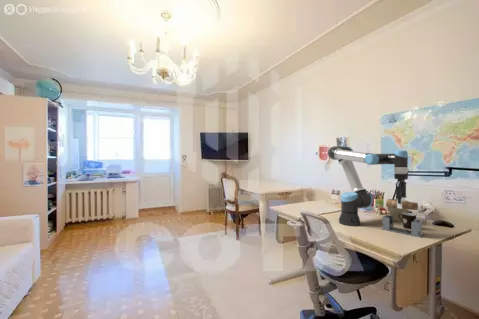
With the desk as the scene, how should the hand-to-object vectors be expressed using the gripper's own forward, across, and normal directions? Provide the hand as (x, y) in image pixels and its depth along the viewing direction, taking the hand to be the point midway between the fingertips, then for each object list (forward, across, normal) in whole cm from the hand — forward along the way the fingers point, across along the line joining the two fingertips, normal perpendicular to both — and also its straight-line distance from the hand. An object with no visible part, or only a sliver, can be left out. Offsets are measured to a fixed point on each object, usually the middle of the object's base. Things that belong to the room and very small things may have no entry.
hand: (401, 207), depth 158 cm
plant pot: (+17, +31, +11) cm, 37 cm away
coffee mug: (+17, +16, +1) cm, 24 cm away
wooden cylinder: (+1, 0, 0) cm, 1 cm away
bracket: (+17, +2, 0) cm, 17 cm away
